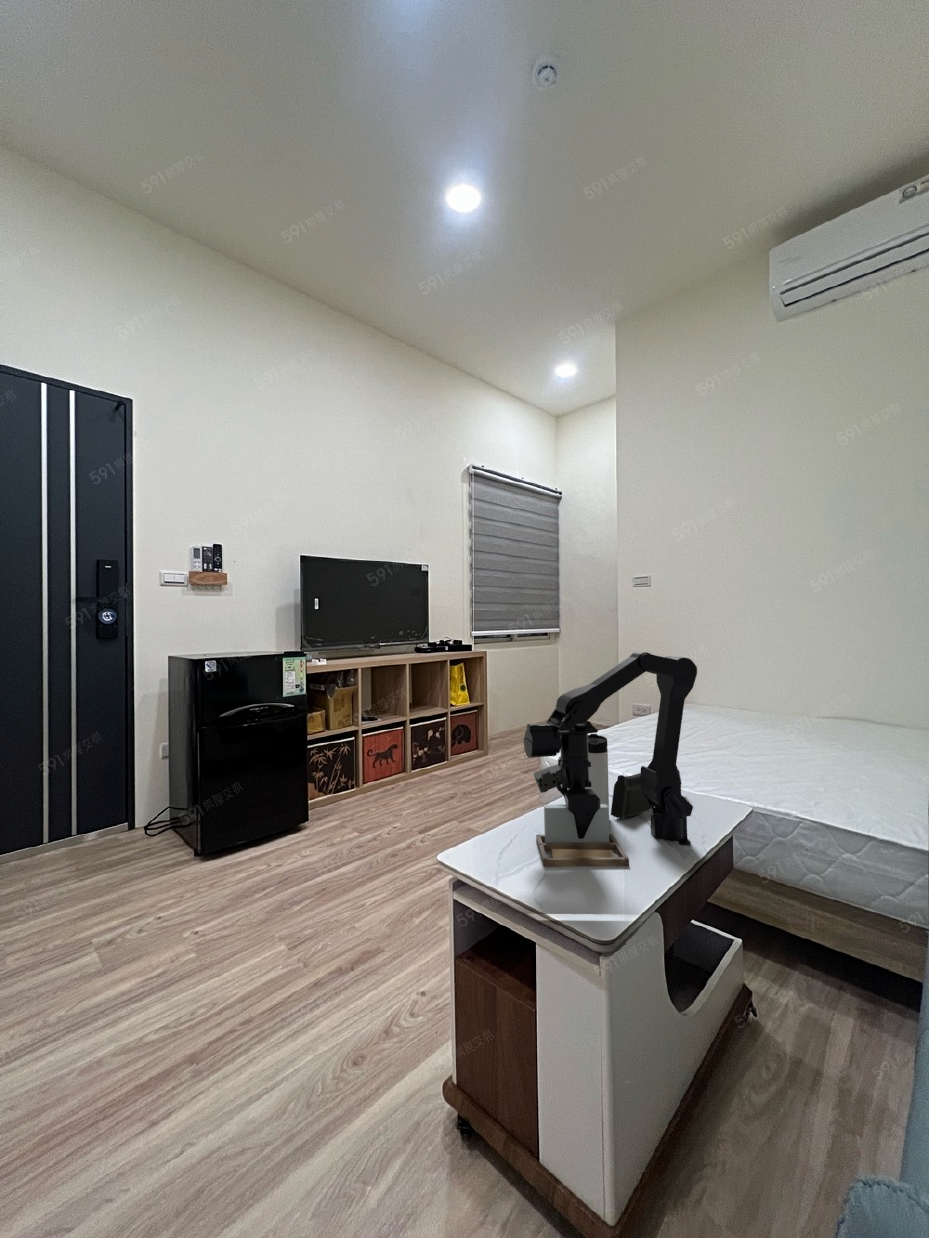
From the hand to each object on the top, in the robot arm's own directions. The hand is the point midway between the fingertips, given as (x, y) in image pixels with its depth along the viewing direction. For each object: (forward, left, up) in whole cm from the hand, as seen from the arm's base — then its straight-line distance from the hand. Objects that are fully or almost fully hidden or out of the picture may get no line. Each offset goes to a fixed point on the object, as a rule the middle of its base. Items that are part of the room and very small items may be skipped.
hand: (576, 829), depth 106 cm
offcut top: (0, +6, -3) cm, 7 cm away
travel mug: (-8, -16, -4) cm, 18 cm away
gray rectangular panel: (0, 0, -4) cm, 4 cm away
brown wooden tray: (0, +3, -4) cm, 5 cm away
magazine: (-23, -25, -4) cm, 35 cm away
